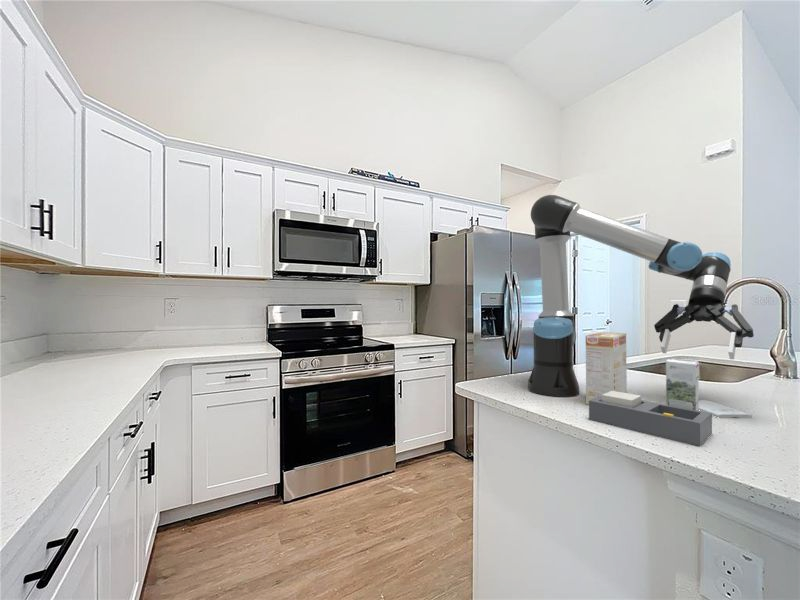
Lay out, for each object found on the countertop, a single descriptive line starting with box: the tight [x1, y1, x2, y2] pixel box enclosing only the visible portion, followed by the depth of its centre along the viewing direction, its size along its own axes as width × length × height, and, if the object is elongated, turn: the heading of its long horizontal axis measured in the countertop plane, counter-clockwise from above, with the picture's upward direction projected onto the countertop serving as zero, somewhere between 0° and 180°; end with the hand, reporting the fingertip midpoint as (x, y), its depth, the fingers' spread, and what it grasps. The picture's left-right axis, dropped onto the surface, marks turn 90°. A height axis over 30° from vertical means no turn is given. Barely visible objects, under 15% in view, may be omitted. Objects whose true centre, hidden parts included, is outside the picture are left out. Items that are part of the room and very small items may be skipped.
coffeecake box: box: [584, 331, 628, 406], centre depth 101 cm, size 15×7×20 cm, turn 134°
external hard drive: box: [698, 399, 753, 419], centre depth 93 cm, size 2×8×12 cm
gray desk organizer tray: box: [588, 391, 713, 447], centre depth 81 cm, size 21×11×6 cm, turn 39°
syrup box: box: [665, 357, 700, 411], centre depth 85 cm, size 6×6×14 cm
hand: (695, 352), depth 91 cm, fingers open, 13 cm apart
